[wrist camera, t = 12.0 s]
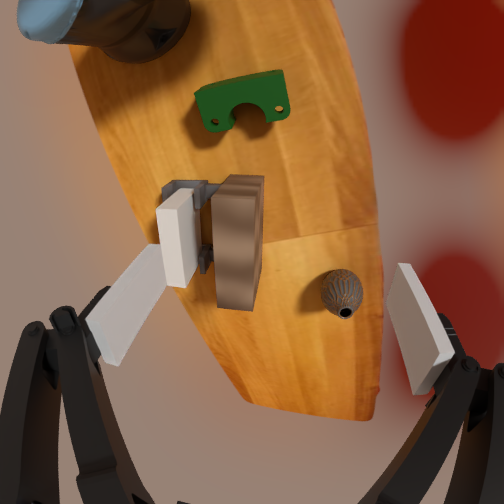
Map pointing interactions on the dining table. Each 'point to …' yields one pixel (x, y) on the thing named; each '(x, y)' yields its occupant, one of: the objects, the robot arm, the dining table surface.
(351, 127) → the dining table surface
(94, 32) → the robot arm
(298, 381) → the dining table surface
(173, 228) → the door
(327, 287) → the vase
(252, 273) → the cabinet
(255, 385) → the dining table surface
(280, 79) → the clamp
